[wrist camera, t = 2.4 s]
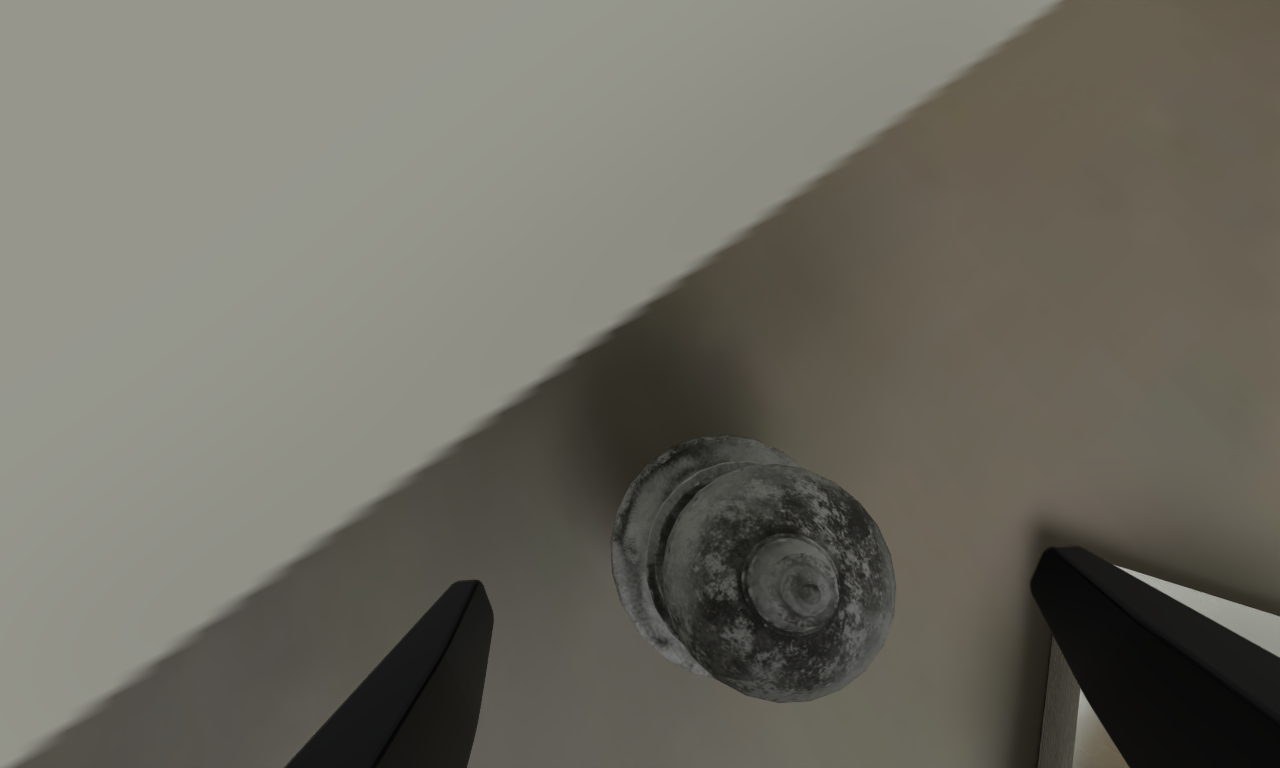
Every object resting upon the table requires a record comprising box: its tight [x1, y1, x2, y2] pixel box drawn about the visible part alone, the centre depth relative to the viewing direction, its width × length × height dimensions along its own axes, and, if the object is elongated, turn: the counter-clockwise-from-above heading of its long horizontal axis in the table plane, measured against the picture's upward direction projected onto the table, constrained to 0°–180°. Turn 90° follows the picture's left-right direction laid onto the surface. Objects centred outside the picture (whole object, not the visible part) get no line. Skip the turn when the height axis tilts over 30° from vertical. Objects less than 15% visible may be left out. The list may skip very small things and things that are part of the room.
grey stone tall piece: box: [611, 435, 896, 703], centre depth 10 cm, size 6×6×12 cm
